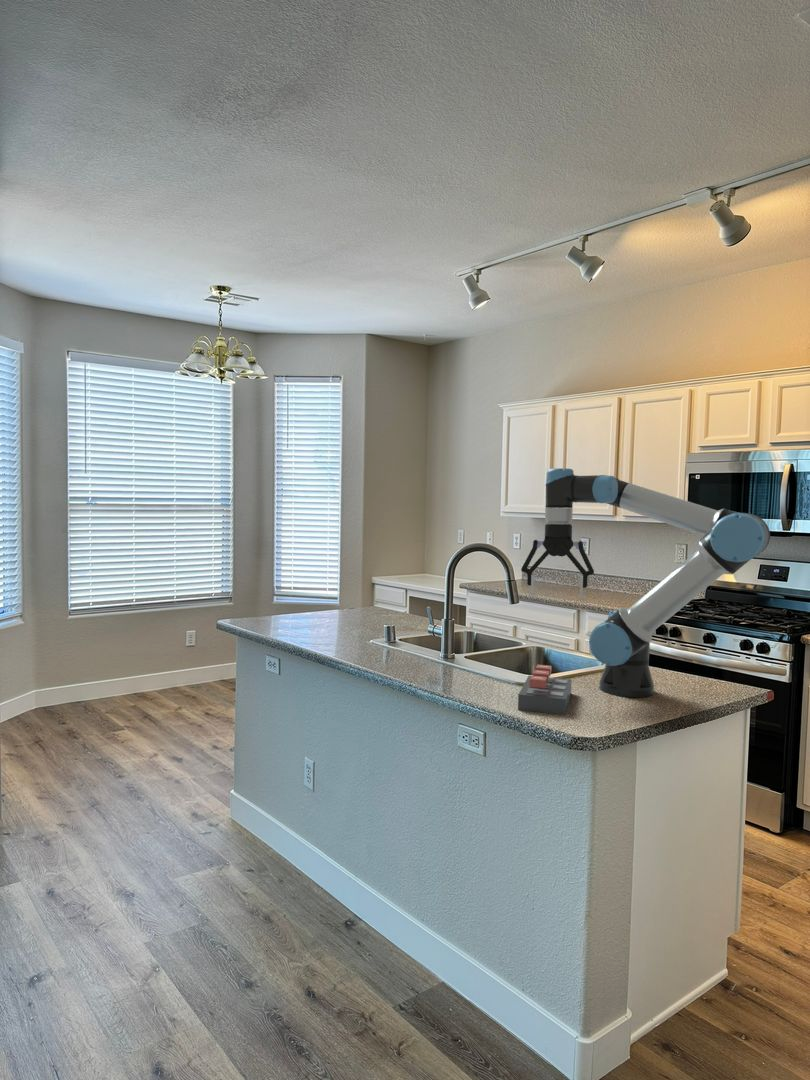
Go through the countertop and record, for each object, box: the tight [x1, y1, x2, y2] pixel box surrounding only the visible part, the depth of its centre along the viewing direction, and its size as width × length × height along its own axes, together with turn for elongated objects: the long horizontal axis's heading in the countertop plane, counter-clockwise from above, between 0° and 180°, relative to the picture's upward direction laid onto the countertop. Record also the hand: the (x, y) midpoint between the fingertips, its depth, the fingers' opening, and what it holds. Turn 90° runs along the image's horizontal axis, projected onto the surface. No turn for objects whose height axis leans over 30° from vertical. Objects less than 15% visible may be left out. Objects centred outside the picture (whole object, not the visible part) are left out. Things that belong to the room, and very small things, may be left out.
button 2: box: [532, 669, 550, 682], centre depth 201 cm, size 4×4×2 cm
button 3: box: [529, 675, 547, 688], centre depth 195 cm, size 4×4×2 cm
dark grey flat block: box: [517, 675, 573, 715], centre depth 203 cm, size 12×25×4 cm, turn 164°
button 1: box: [535, 664, 553, 677], centre depth 208 cm, size 4×4×2 cm
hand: (556, 598), depth 212 cm, fingers open, 13 cm apart
